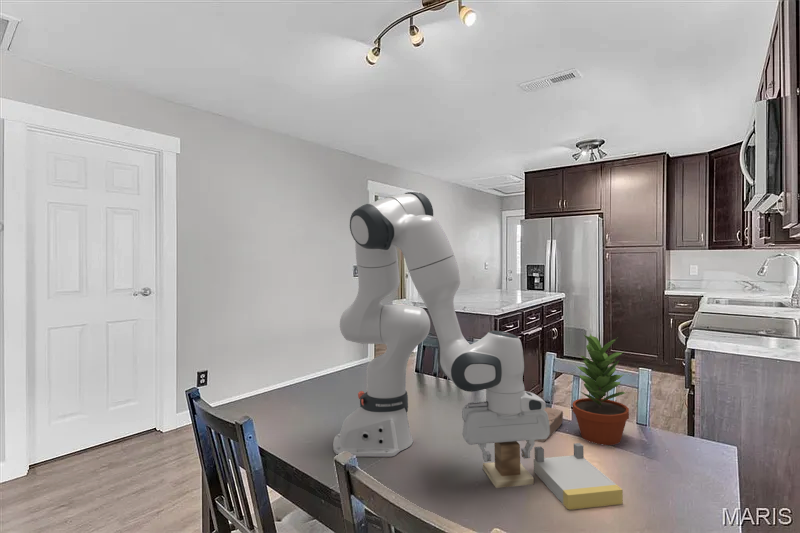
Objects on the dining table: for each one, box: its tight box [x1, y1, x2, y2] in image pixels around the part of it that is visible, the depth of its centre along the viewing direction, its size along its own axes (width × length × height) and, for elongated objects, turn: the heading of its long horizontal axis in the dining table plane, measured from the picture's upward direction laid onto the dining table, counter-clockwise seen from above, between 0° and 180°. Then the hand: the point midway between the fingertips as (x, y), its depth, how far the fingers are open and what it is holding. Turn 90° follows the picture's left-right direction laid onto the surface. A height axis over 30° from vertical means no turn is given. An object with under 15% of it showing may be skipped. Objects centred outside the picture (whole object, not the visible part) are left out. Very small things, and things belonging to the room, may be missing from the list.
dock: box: [533, 442, 624, 511], centre depth 96 cm, size 12×16×6 cm
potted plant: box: [572, 332, 630, 446], centre depth 121 cm, size 15×15×30 cm
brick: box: [535, 406, 564, 443], centre depth 127 cm, size 17×8×5 cm, turn 142°
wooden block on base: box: [482, 441, 535, 489], centre depth 101 cm, size 9×9×8 cm
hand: (506, 458), depth 100 cm, fingers open, 8 cm apart
